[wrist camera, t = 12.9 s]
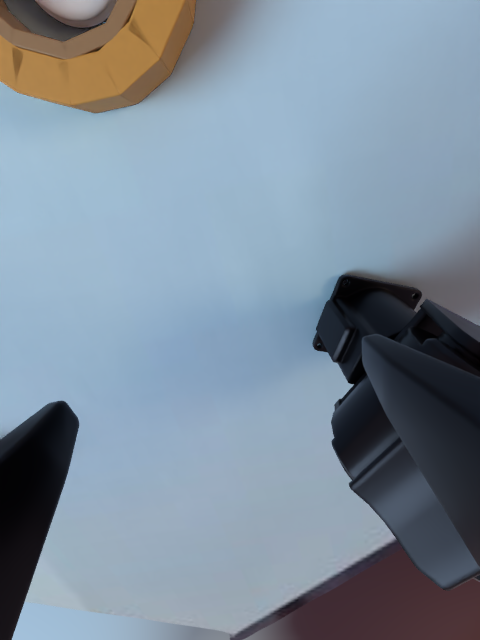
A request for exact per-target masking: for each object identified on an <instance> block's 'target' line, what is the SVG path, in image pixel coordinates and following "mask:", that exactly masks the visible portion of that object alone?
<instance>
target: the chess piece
mask: <svg viewBox="0 0 480 640" xmlns="http://www.w3.org/2000/svg"><path fill="white" fill-rule="evenodd" d="M35 1H36V2H37V3H38V5H39V6H40V7H41V8H42V9H43V10H44V11H46V12H47V13H48V14H49V15H51V16H52V17H53V18H55V19H56V20H58V21H60V22H62V23H64V24H67V25H69V26H73V27H80V28H86V27H92V26H95V25H98V24H100V23H101V22H103V21H104V20H106V19H107V18H108V17H109V15H110V13H111V12H112V10H113V8H114V6H115V4H116V2H117V0H35Z"/></svg>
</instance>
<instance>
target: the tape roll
mask: <svg viewBox="0 0 480 640" xmlns="http://www.w3.org/2000/svg"><path fill="white" fill-rule="evenodd" d="M195 5H196V0H117V2H116V4H115V6H114V8H113V10H112V12H111V13H110V15H109V17H108V19H107V21H106V23H105V24H102V25H100V26H98V27H96V28H94V29H91V30H89V31H87V32H85V33H82V34H80V35H78V36H76V37H73V38H71V39H69V40H67V41H64V42H63V41H59V40H56V39H52V38H49V37H45V36H41V35H38V34H34V33H32V32H31V31H30V30H29V29H27V28H26V27H25V26H24V25H23V24H22V23H21V22H20V21H19V20H18V19H17V18H16V17H14V16H13V15H12V14H11V13H10V12H9V10H8V8H7V6H6V4H5V2H4V0H0V81H1V82H2V83H4V84H5V85H7V86H8V87H10V88H11V89H13V90H14V91H16V92H18V93H21V94H24V95H28V96H31V97H35V98H38V99H42V100H45V101H48V102H52V103H56V104H60V105H64V106H68V107H72V108H76V109H80V110H84V111H88V112H92V113H100V112H104V111H109V110H113V109H118V108H122V107H127V106H131V105H136V104H138V103H139V102H140V101H142V100H143V99H144V98H145V97H146V96H147V95H148V94H150V93H151V92H152V91H153V90H154V89H155V88H156V87H158V86H159V85H160V84H161V83H162V82H163V81H164V80H166V79H167V78H168V77H169V76H170V75H171V73H172V71H173V69H174V67H175V64H176V62H177V60H178V58H179V56H180V53H181V51H182V49H183V47H184V45H185V42H186V40H187V38H188V36H189V34H190V31H191V29H192V27H193V23H194V15H195Z"/></svg>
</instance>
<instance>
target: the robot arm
mask: <svg viewBox="0 0 480 640" xmlns="http://www.w3.org/2000/svg"><path fill="white" fill-rule="evenodd" d="M345 280H348V282H347V283H346V284H343V282H344V281H345ZM414 293H415V295H414V296H413V297H412V295H413V294H414ZM421 296H422V293H421V291H419V290H418V289H416V288H413V287H408V286H403V285H397V284H392V283H387V282H382V281H377V280H372V279H367V278H362V277H357V276H352V275H342V276H340V277H339V279H338V281H337V283H336V286H335V288H334V291H333V293H332V296H331V298H330V300H328V301H327V302H326V304H325V307H324V309H323V312H322V315H321V317H320V320H319V322H318V325H317V327H316V330H317V333H316V335H315V338H314V340H313V347H314V349H315V350H317V351H323V352H328V353H329V355H330V357H331V359H332V361H333V362H336V363H338V364H339V366H340V368H341V370H342V372H343V374H344V375H345V377H346V379H347V381H348V383H350V384H354V385H353V387H352V388H351V389H350V390H349V391H348V392H347V393H346V395H345V396H344V397H343V398H342V399H339V400H338V401H337V402H336V404H335V412H334V413H333V417H332V421H331V424H332V429H333V434H334V437H335V438H334V439H333V440H332V446H333V449H334V451H335V453H336V455H337V457H338V459H339V461H340V463H341V465H342V466H343V468H344V470H345V471H346V473H347V474H348V475H349V477H350V478H351V479H352V481H351V482H350V483H349V486H350V488H351V490H353V491H354V492H355V493H356V494H357V495H358V496H359V497H361V498H362V499H363V500H364V501H365V502H366V503H368V504H369V505H370V507H371V508H372V509H373V510H374V511H375V512H376V513H377V514H378V515H379V517H380V518H381V519H382V520H383V521H384V522H385V524H386V525H387V526H388V528H389V529H390V530H391V532H392V533H393V535H394V536H395V537H396V539H397V540H398V542H399V543H400V545H401V546H402V548H403V549H404V551H405V552H406V554H407V555H408V556H409V558H410V559H411V561H412V562H413V564H414V565H415V566H416V568H417V569H418V570H420V571H421V572H422V573H423V574H424V575H426V576H427V577H428V578H429V579H431V580H432V581H433V582H434V583H435V584H437V585H438V586H439V587H440V588H442V589H444V590H447V591H450V590H452V589H454V588H456V587H457V586H459V585H461V584H463V583H465V582H467V581H469V580H471V579H475V580H477V581H479V582H480V326H478V325H476V324H474V323H472V322H470V321H469V320H467V319H465V318H463V317H461V316H459V315H457V314H455V313H453V312H451V311H449V310H447V309H445V308H444V307H442V306H440V305H438V304H436V303H434V302H432V301H430V300H428V299H426V300H425V301H424V302H423V304H422V305H421V306H420V307H421V309H420V310H419V311H418V312H417V313H416V312H415V311H414V309H415V307H416V305H417V304H418V302H419V300H420V298H421ZM319 343H322V344H321V345H318V344H319ZM78 428H79V420H78V418H77V416H76V415H75V414H74V412H73V411H72V409H71V408H70V407H69V405H68V404H67V403H66V402H64V401H57V402H52V403H49V404H47V405H46V406H45V407H43V408H42V409H41V410H39V411H38V412H37V413H35V414H34V415H33V416H31V417H30V418H29V419H27V420H26V421H25V422H23V423H22V424H21V425H19V426H18V427H17V428H15V429H14V430H13V431H11V432H10V433H9V434H7V435H6V436H5V437H3V438H2V439H1V440H0V640H12V637H13V633H14V631H15V628H16V625H17V622H18V619H19V616H20V613H21V610H22V607H23V604H24V601H25V598H26V596H27V593H28V590H29V587H30V584H31V581H32V578H33V575H34V572H35V569H36V566H37V563H38V560H39V557H40V554H41V551H42V548H43V545H44V543H45V540H46V537H47V534H48V531H49V528H50V525H51V522H52V519H53V516H54V513H55V510H56V507H57V504H58V501H59V498H60V495H61V492H62V489H63V487H64V484H65V480H66V477H67V474H68V470H69V466H70V462H71V458H72V453H73V449H74V445H75V441H76V437H77V432H78Z"/></svg>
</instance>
